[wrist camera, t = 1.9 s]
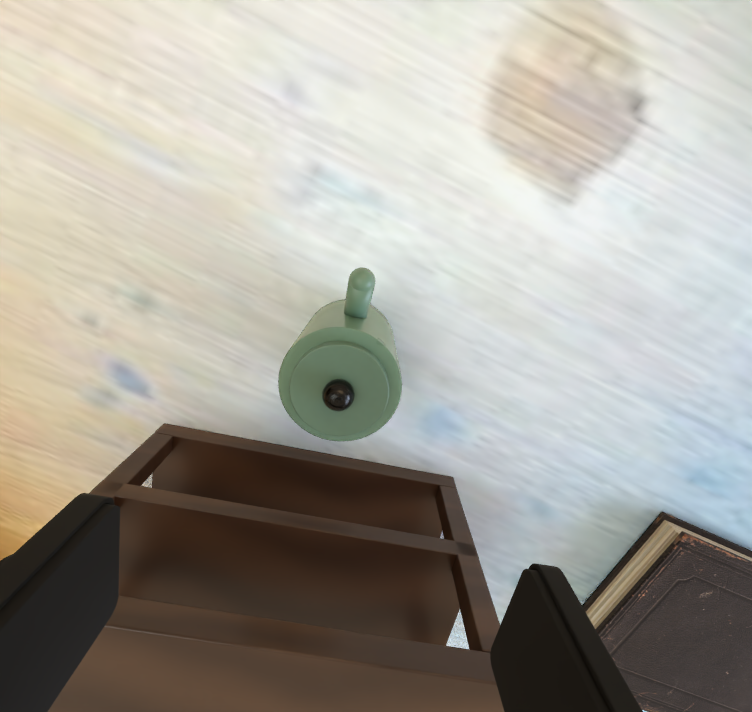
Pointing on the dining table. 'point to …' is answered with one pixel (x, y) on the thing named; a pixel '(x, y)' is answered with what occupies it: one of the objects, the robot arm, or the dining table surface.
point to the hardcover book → (680, 620)
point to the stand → (286, 586)
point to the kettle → (343, 368)
